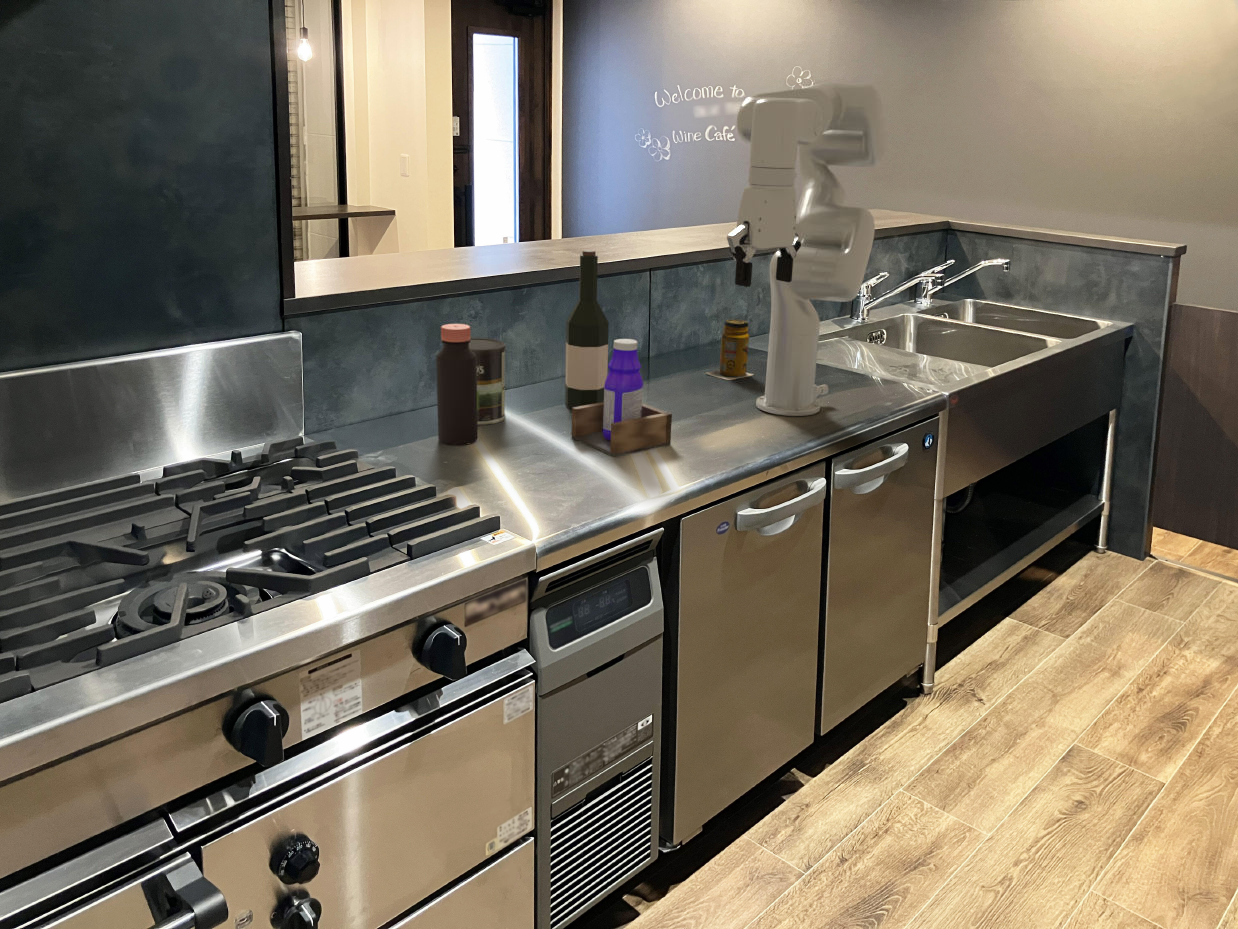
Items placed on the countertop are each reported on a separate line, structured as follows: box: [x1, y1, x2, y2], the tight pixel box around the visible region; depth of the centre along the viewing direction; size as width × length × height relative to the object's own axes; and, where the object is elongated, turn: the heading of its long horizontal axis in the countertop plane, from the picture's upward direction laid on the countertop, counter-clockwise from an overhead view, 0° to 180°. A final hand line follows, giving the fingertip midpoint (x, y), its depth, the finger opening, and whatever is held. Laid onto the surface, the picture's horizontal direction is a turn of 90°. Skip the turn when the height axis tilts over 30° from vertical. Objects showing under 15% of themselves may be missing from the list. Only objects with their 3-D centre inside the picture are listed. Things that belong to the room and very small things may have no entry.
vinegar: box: [435, 323, 479, 446], centre depth 178 cm, size 7×7×20 cm
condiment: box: [705, 318, 755, 381], centre depth 229 cm, size 7×8×12 cm
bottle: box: [603, 338, 644, 440], centre depth 180 cm, size 7×6×17 cm
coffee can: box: [469, 337, 506, 426], centre depth 192 cm, size 10×10×14 cm
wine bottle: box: [564, 249, 610, 410], centre depth 199 cm, size 8×8×30 cm
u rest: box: [571, 402, 673, 458], centre depth 182 cm, size 12×12×6 cm
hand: (763, 283), depth 176 cm, fingers open, 9 cm apart
